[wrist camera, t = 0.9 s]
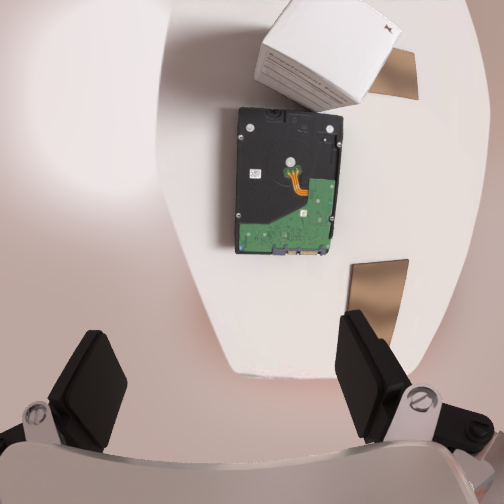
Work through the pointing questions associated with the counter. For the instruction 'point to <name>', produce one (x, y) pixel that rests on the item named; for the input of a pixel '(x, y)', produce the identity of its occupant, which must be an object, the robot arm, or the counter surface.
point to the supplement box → (325, 52)
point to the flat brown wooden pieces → (388, 272)
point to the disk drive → (286, 181)
